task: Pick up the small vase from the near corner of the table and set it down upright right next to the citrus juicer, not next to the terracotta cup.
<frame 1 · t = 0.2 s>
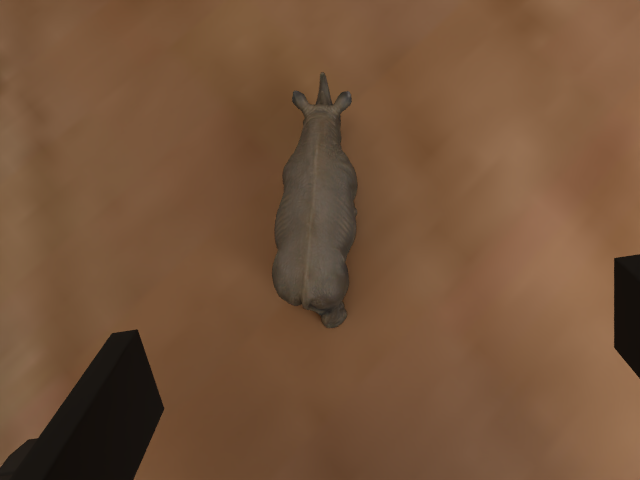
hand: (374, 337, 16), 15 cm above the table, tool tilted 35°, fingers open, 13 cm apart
rhino figurine: (327, 208, 34), on the table
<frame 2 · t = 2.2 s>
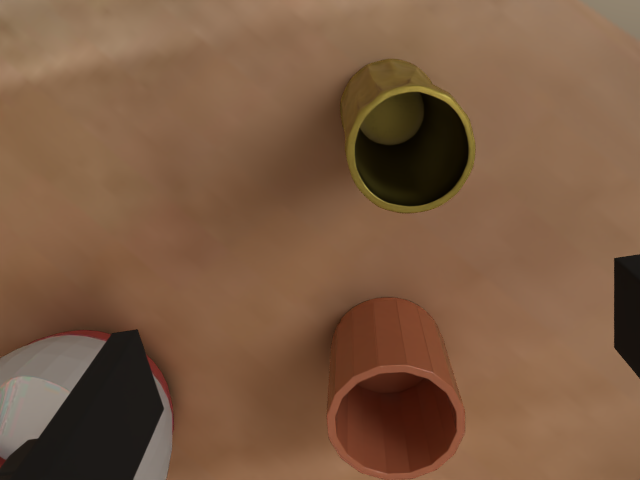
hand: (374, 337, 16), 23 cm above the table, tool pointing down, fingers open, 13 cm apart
vase: (388, 109, 37), on the table
citrus juicer: (102, 383, 45), on the table
terracotta cup: (386, 346, 42), on the table
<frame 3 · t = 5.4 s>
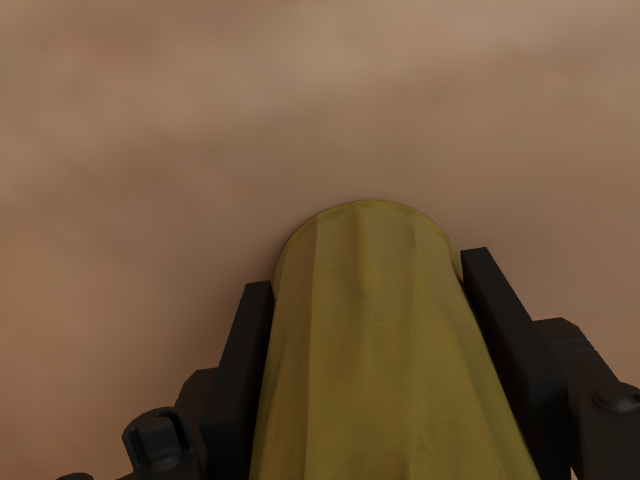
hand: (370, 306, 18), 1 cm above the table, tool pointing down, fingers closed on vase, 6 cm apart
vase: (367, 284, 19), on the table, touching gripper
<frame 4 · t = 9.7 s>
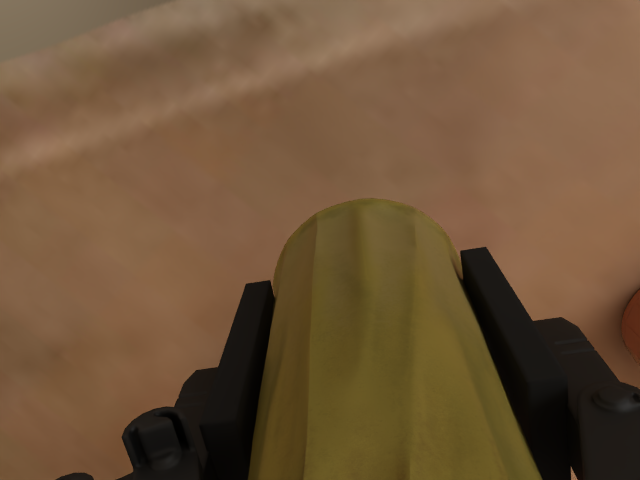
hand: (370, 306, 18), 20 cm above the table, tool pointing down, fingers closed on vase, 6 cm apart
vase: (367, 282, 19), point 18 cm above the table, touching gripper
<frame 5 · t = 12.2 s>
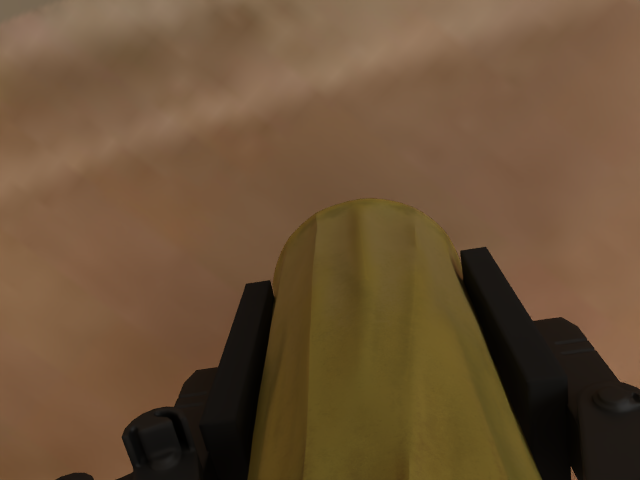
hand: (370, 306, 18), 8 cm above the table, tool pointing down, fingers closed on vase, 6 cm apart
vase: (367, 282, 19), point 6 cm above the table, touching gripper
when the fingers open (1 cm above the table, at t = 14.0 s): vase stays where it is, on the table.
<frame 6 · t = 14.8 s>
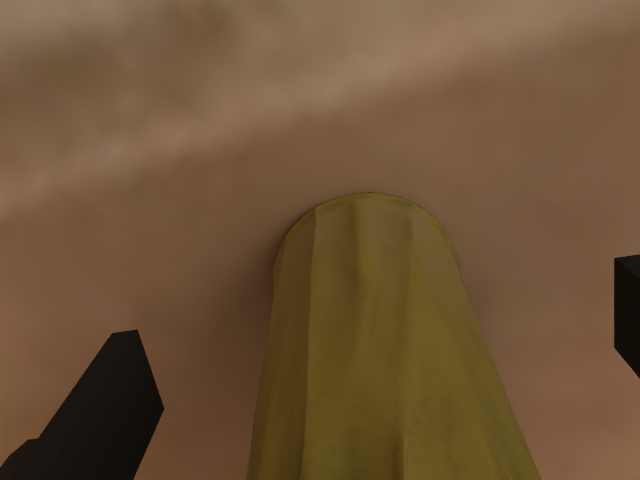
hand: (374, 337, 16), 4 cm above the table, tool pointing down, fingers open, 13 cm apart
vase: (365, 275, 20), on the table
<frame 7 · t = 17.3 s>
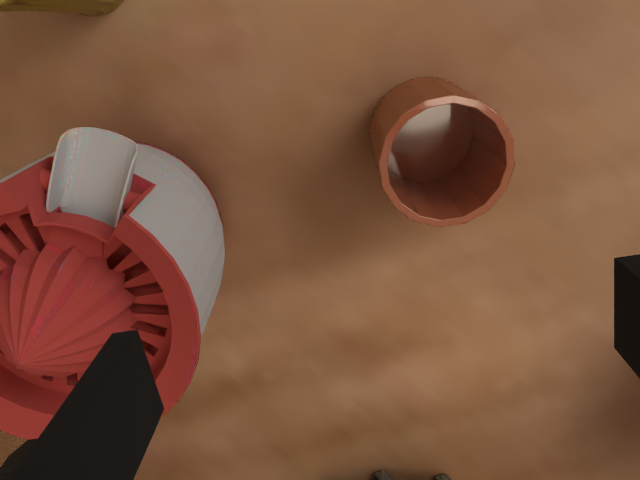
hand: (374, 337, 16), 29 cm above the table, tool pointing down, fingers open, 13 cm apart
citrus juicer: (146, 205, 46), on the table
terracotta cup: (423, 132, 43), on the table
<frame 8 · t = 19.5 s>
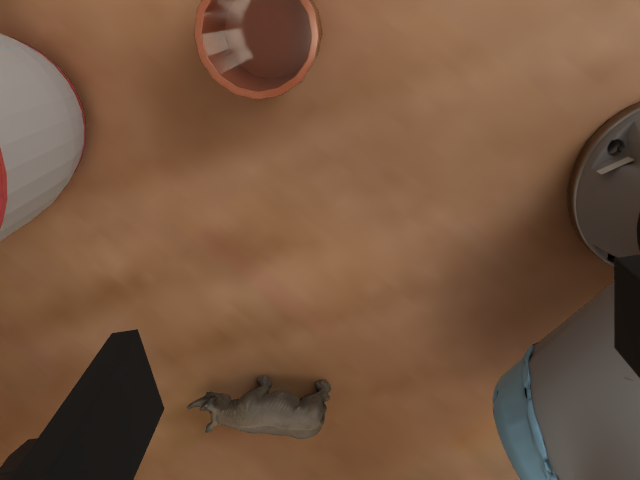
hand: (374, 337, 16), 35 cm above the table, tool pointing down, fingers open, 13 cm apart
rhino figurine: (262, 388, 59), on the table
citrus juicer: (21, 105, 49), on the table
terracotta cup: (271, 31, 46), on the table
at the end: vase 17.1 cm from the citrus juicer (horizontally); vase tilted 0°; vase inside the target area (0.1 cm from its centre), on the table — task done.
